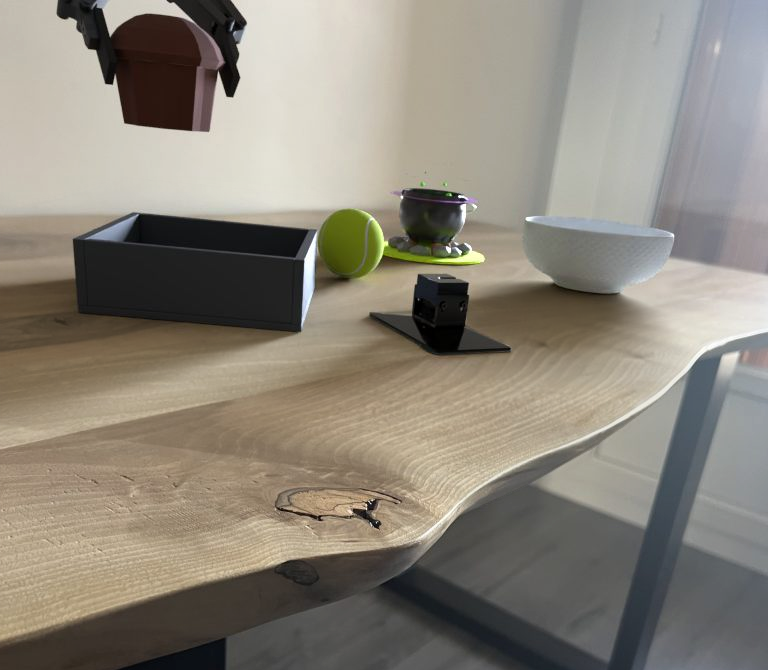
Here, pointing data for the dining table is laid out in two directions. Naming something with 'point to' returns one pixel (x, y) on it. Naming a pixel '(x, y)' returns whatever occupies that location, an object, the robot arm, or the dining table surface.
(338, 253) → the tennis ball
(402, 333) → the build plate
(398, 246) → the toy cauldron
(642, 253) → the cereal bowl
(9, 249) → the dining table surface
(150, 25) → the muffin
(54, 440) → the dining table surface
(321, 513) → the dining table surface
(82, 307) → the bin
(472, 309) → the dining table surface
